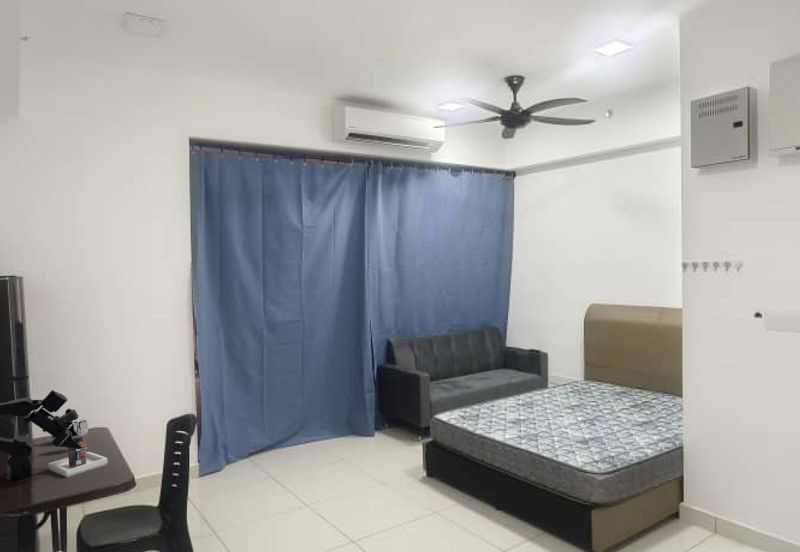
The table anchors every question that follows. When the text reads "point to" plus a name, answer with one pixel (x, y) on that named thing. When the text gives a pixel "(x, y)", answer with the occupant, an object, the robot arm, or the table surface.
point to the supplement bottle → (77, 453)
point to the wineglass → (81, 427)
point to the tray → (67, 471)
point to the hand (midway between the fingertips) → (81, 444)
